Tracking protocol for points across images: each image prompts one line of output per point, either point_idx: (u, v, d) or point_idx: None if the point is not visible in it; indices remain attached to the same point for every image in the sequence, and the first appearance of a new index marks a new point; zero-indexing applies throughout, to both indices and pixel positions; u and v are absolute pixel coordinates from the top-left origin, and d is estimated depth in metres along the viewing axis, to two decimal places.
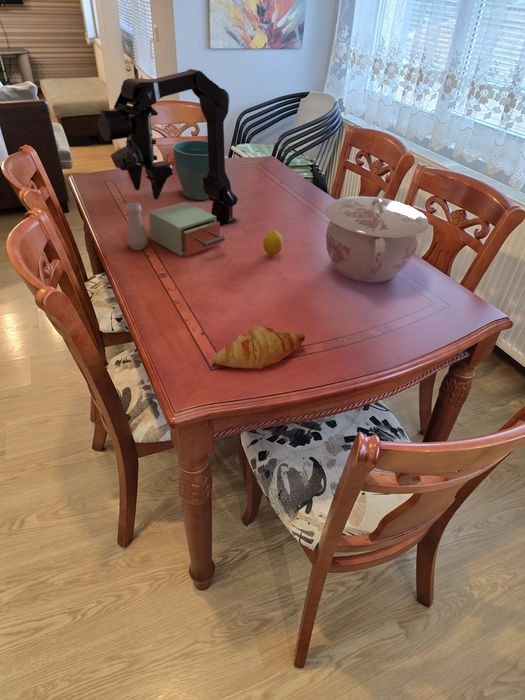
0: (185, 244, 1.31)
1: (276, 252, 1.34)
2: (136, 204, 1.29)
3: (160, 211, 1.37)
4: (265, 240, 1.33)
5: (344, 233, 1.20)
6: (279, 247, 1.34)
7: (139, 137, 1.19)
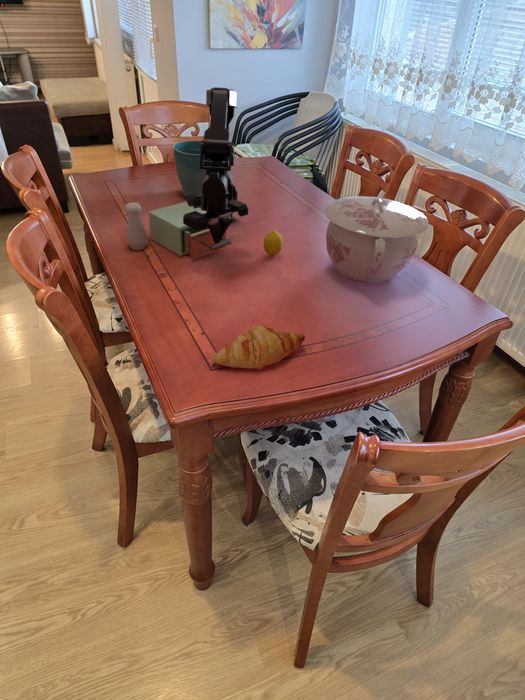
0: (191, 247, 1.30)
1: (276, 252, 1.34)
2: (136, 204, 1.29)
3: (160, 211, 1.37)
4: (265, 240, 1.33)
5: (344, 233, 1.20)
6: (279, 247, 1.34)
7: None
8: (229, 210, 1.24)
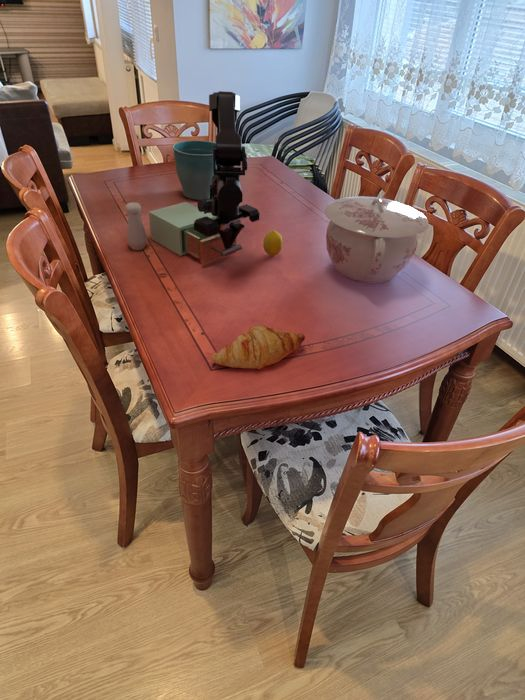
0: (201, 253, 1.27)
1: (276, 252, 1.34)
2: (136, 204, 1.29)
3: (160, 211, 1.37)
4: (265, 240, 1.33)
5: (344, 233, 1.20)
6: (279, 247, 1.34)
7: (216, 192, 1.19)
8: (240, 215, 1.22)
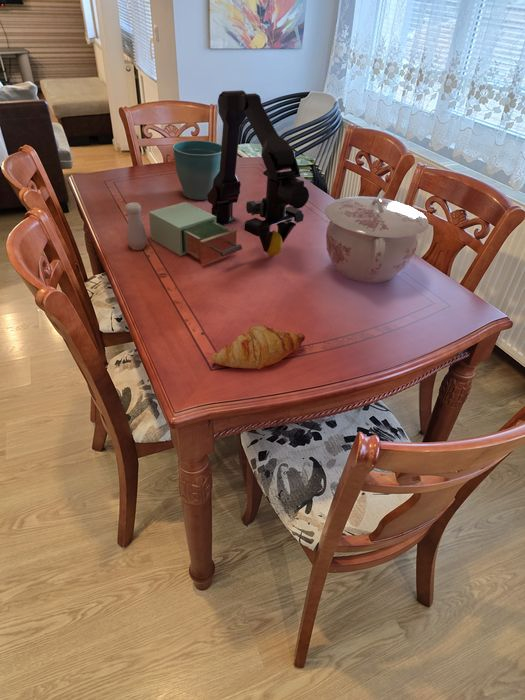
0: (202, 253, 1.27)
1: (276, 252, 1.34)
2: (136, 204, 1.29)
3: (160, 211, 1.37)
4: None
5: (344, 233, 1.20)
6: (279, 247, 1.34)
7: (266, 195, 1.26)
8: (287, 217, 1.30)
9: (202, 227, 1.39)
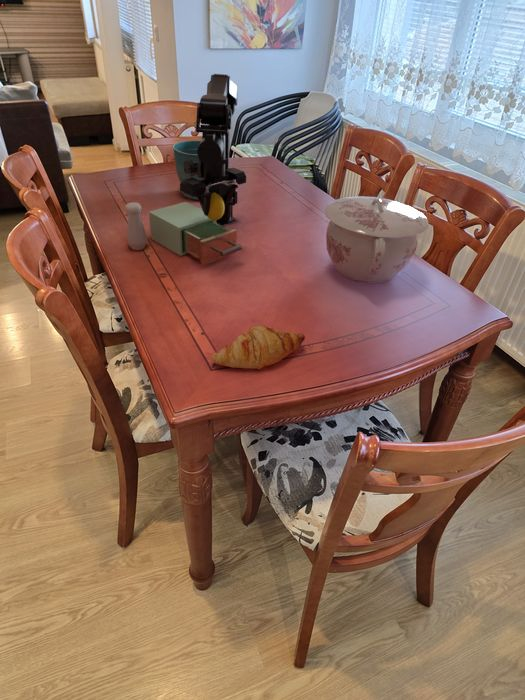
0: (202, 253, 1.27)
1: (217, 216, 1.26)
2: (136, 204, 1.29)
3: (160, 211, 1.37)
4: None
5: (344, 233, 1.20)
6: (220, 210, 1.26)
7: None
8: (227, 177, 1.22)
9: (202, 227, 1.39)
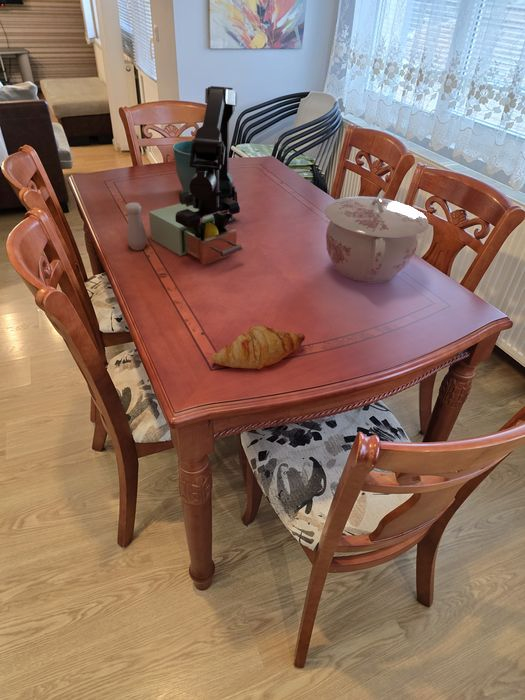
0: (202, 253, 1.27)
1: None
2: (136, 204, 1.29)
3: (160, 211, 1.37)
4: None
5: (344, 233, 1.20)
6: None
7: None
8: (221, 208, 1.27)
9: None
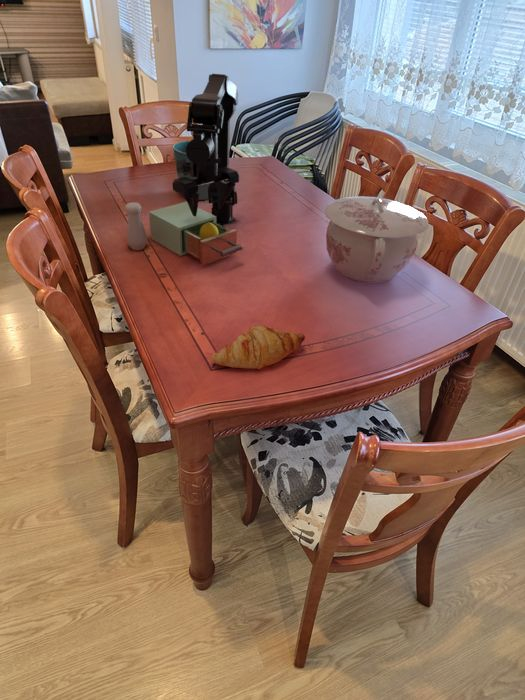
0: (202, 253, 1.27)
1: None
2: (136, 204, 1.29)
3: (160, 211, 1.37)
4: (200, 232, 1.30)
5: (344, 233, 1.20)
6: None
7: None
8: (219, 176, 1.22)
9: None
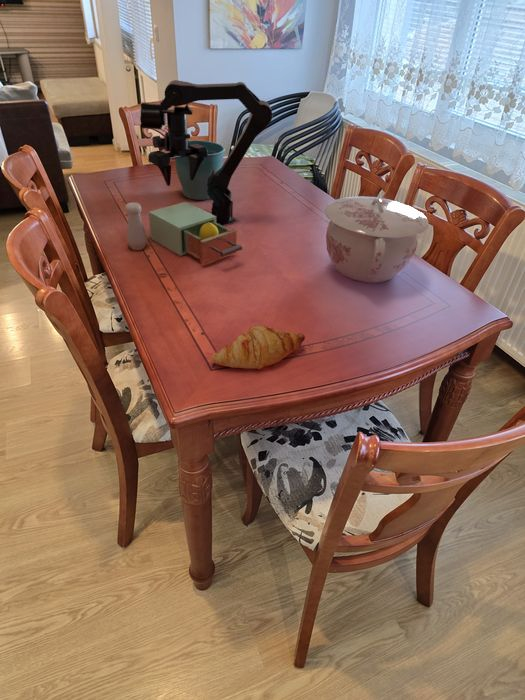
0: (202, 253, 1.27)
1: None
2: (136, 204, 1.29)
3: (160, 211, 1.37)
4: (200, 232, 1.30)
5: (344, 233, 1.20)
6: None
7: None
8: (189, 150, 1.42)
9: None
